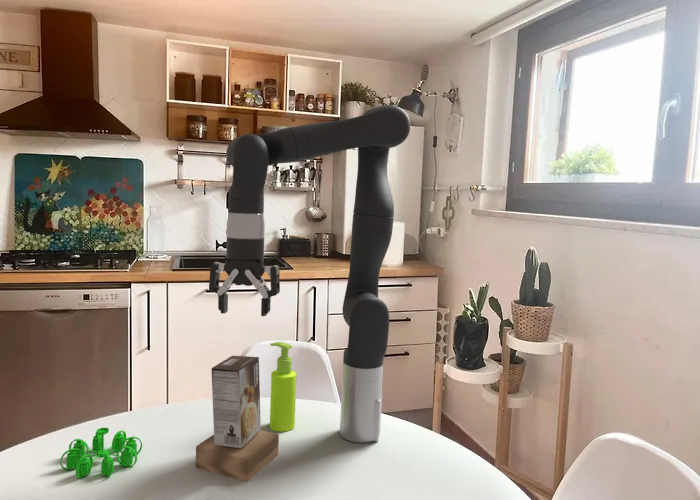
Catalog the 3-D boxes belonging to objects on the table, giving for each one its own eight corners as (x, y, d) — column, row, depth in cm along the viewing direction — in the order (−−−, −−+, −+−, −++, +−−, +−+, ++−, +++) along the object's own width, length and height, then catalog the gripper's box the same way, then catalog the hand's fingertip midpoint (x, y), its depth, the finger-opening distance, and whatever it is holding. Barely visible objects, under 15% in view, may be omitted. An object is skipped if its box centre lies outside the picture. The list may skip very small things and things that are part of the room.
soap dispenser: (278, 417, 132) (281, 338, 130) (299, 425, 128) (302, 344, 126) (261, 425, 127) (263, 343, 125) (282, 434, 123) (285, 349, 121)
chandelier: (41, 476, 101) (41, 441, 100) (94, 441, 116) (94, 410, 115) (112, 488, 98) (112, 452, 98) (157, 451, 113) (157, 419, 112)
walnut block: (278, 456, 113) (278, 434, 113) (247, 484, 102) (248, 459, 102) (230, 444, 118) (230, 423, 117) (195, 470, 107) (196, 446, 106)
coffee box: (234, 426, 116) (232, 354, 114) (261, 430, 114) (260, 356, 112) (212, 445, 107) (210, 367, 105) (242, 449, 105) (240, 369, 104)
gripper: (284, 235, 111) (282, 312, 113) (218, 232, 113) (217, 308, 114) (274, 238, 103) (272, 320, 105) (204, 235, 105) (203, 315, 107)
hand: (244, 314), depth 110 cm, fingers open, 8 cm apart
